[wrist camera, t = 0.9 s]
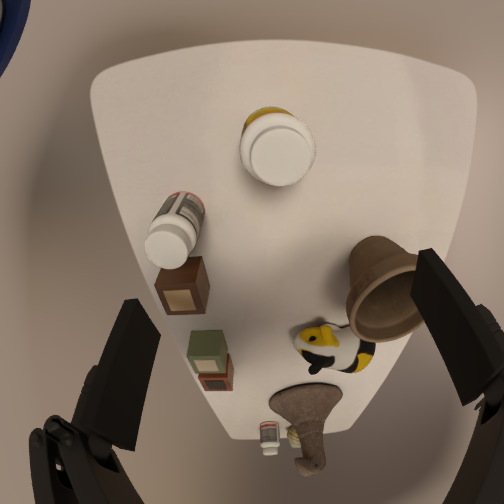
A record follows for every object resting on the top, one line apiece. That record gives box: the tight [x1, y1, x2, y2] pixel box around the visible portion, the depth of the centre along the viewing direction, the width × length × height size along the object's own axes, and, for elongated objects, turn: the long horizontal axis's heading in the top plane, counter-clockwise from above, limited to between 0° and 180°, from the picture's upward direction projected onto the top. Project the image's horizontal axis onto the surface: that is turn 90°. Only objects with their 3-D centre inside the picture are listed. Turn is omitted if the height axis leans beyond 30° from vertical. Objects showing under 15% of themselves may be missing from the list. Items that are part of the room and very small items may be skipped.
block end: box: [198, 354, 234, 391], centre depth 44 cm, size 5×5×5 cm
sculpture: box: [269, 384, 343, 477], centre depth 47 cm, size 17×17×20 cm
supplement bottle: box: [240, 107, 316, 186], centre depth 21 cm, size 6×6×10 cm
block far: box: [187, 330, 227, 373], centre depth 40 cm, size 5×5×5 cm
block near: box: [154, 256, 210, 315], centre depth 32 cm, size 5×5×5 cm
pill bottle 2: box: [260, 422, 280, 455], centre depth 62 cm, size 5×5×10 cm
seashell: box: [287, 426, 324, 448], centre depth 65 cm, size 10×10×10 cm
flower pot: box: [346, 236, 425, 342], centre depth 29 cm, size 12×11×10 cm
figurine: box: [293, 324, 376, 375], centre depth 38 cm, size 8×15×8 cm, turn 67°
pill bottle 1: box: [145, 191, 204, 269], centre depth 26 cm, size 5×5×8 cm
